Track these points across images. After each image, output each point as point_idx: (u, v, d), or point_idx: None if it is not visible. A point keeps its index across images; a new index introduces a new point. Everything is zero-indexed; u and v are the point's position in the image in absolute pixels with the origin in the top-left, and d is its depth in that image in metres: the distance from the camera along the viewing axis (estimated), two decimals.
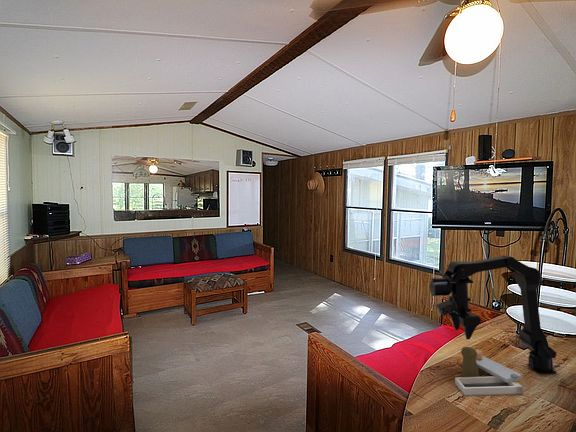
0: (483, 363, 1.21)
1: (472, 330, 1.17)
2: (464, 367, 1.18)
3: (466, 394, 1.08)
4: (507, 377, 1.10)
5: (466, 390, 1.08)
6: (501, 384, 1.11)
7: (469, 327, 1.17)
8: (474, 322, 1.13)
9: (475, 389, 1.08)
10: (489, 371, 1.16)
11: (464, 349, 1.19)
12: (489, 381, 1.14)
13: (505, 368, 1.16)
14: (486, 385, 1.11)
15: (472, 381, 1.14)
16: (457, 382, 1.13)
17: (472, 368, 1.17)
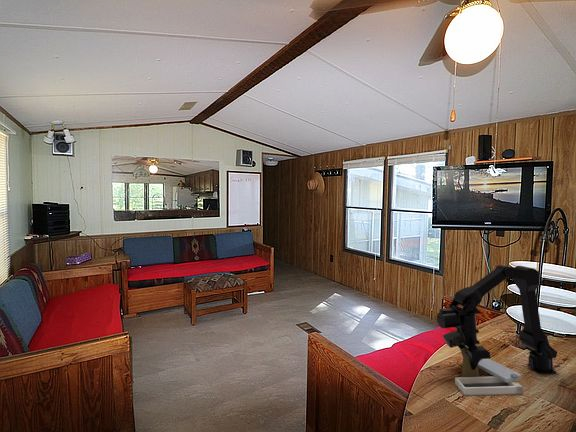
0: (483, 363, 1.21)
1: (477, 361, 1.15)
2: (464, 367, 1.18)
3: (466, 394, 1.08)
4: (507, 377, 1.10)
5: (466, 390, 1.08)
6: (501, 384, 1.11)
7: None
8: (483, 357, 1.10)
9: (475, 389, 1.08)
10: (489, 371, 1.16)
11: (464, 349, 1.19)
12: (489, 381, 1.14)
13: (505, 368, 1.16)
14: (486, 385, 1.11)
15: (472, 381, 1.14)
16: (457, 382, 1.13)
17: None
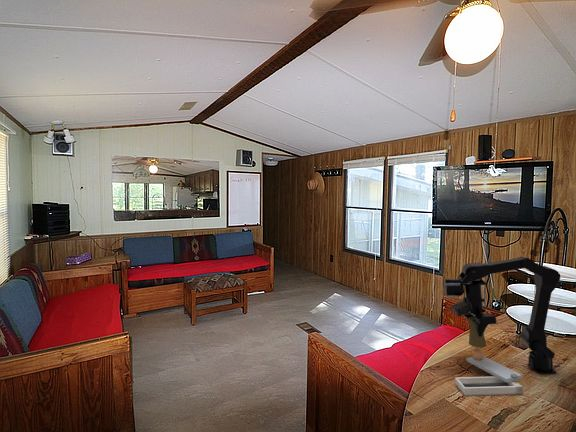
0: (483, 363, 1.21)
1: (484, 328, 1.23)
2: (471, 335, 1.26)
3: (466, 394, 1.08)
4: (507, 377, 1.10)
5: (466, 390, 1.08)
6: (501, 384, 1.11)
7: (481, 325, 1.23)
8: (490, 322, 1.18)
9: (475, 389, 1.08)
10: (489, 371, 1.16)
11: (471, 318, 1.27)
12: (489, 381, 1.14)
13: (505, 368, 1.16)
14: (486, 385, 1.11)
15: (472, 381, 1.14)
16: (457, 382, 1.13)
17: None
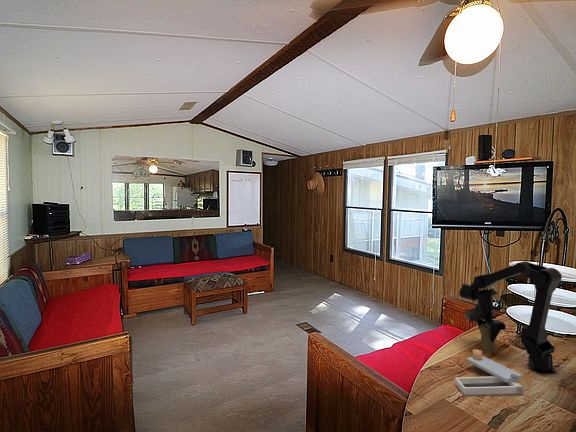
0: (483, 363, 1.21)
1: (496, 334, 1.34)
2: (482, 341, 1.39)
3: (466, 394, 1.08)
4: (507, 377, 1.10)
5: (466, 390, 1.08)
6: (501, 384, 1.11)
7: (493, 331, 1.34)
8: (499, 328, 1.30)
9: (475, 389, 1.08)
10: (489, 371, 1.16)
11: (482, 326, 1.39)
12: (489, 381, 1.14)
13: (505, 368, 1.16)
14: (486, 385, 1.11)
15: (472, 381, 1.14)
16: (457, 382, 1.13)
17: (489, 342, 1.37)
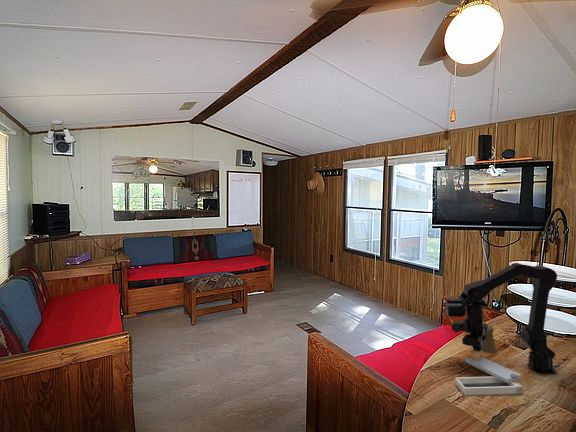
0: (482, 363, 1.20)
1: (479, 347, 1.25)
2: None
3: (466, 394, 1.08)
4: (507, 377, 1.10)
5: (466, 390, 1.08)
6: (501, 384, 1.11)
7: None
8: (472, 344, 1.19)
9: (475, 389, 1.08)
10: (489, 371, 1.15)
11: None
12: (489, 381, 1.14)
13: (504, 368, 1.16)
14: (486, 385, 1.11)
15: (472, 381, 1.14)
16: (457, 382, 1.13)
17: (489, 342, 1.37)
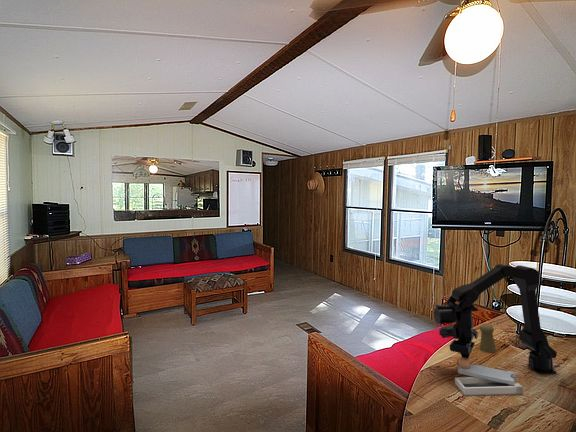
0: (476, 371, 1.16)
1: (467, 354, 1.20)
2: (482, 341, 1.39)
3: (466, 394, 1.08)
4: (511, 379, 1.09)
5: (466, 390, 1.08)
6: (501, 384, 1.11)
7: None
8: (460, 351, 1.14)
9: (475, 389, 1.08)
10: (491, 378, 1.11)
11: (482, 326, 1.39)
12: (489, 381, 1.14)
13: (496, 370, 1.15)
14: (486, 385, 1.11)
15: (472, 381, 1.14)
16: (457, 382, 1.13)
17: (489, 342, 1.37)
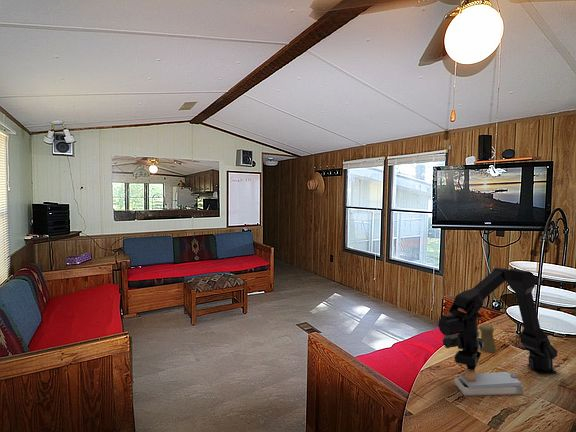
0: (483, 380, 1.09)
1: (473, 365, 1.11)
2: None
3: (466, 394, 1.08)
4: (516, 380, 1.08)
5: (466, 390, 1.08)
6: None
7: None
8: (466, 362, 1.05)
9: (475, 389, 1.08)
10: (501, 385, 1.07)
11: (482, 326, 1.39)
12: None
13: (494, 374, 1.13)
14: None
15: None
16: (457, 382, 1.13)
17: (489, 342, 1.37)
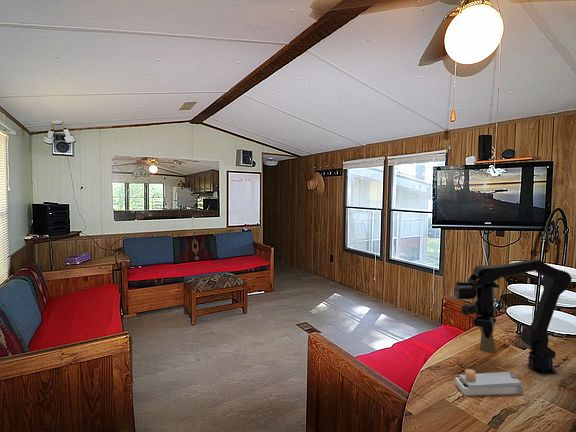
0: (483, 380, 1.09)
1: (490, 330, 1.22)
2: (482, 341, 1.39)
3: (466, 394, 1.08)
4: (516, 380, 1.08)
5: (466, 390, 1.08)
6: None
7: None
8: (483, 325, 1.17)
9: (475, 389, 1.08)
10: (501, 385, 1.07)
11: None
12: None
13: (494, 374, 1.13)
14: None
15: None
16: (457, 382, 1.13)
17: (489, 342, 1.37)
